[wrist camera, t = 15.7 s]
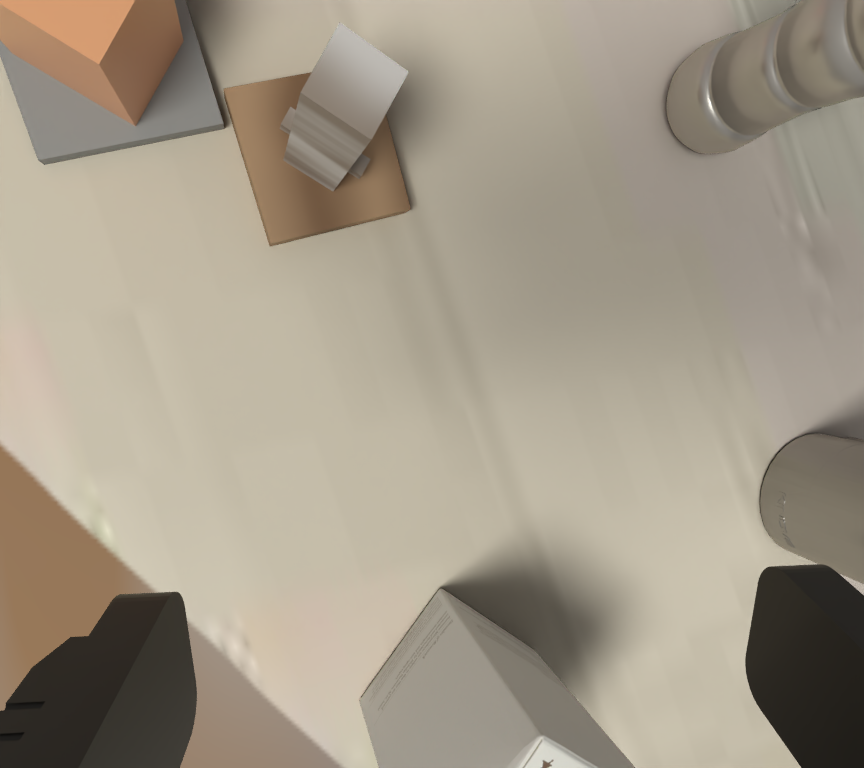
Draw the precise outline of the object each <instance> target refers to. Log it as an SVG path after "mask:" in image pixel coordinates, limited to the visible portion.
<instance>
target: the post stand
mask: <svg viewBox="0 0 864 768" xmlns="http://www.w3.org/2000/svg"><path fill="white" fill-rule="evenodd" d="M408 73H409V71H407V70H406V69H404V68H403V67H402V66H400V65H399V64H397V63H396V62H395V61H393V60H392V59H391V58H389V57H388V56H386V55H385V54H384V53H382V52H381V51H379V50H378V49H377V48H375V47H374V46H372V45H371V44H370V43H368V42H367V41H365V40H364V39H363V38H361V37H360V36H358V35H357V34H356V33H354V32H353V31H352V30H350V29H349V28H347V27H346V26H345V25H343V24H342V23H339V25H338V26H337V28H336V30H335V32H334V33H333V35H332V37H331V39H330V41H329V42H328V44H327V46H326V48H325V50H324V51H323V53H322V55H321V57H320V59H319V60H318V62H317V64H316V66H315V68H314V69H313V71H312V73H306V74H301V75H295V76H290V77H285V78H279V79H274V80H268V81H263V82H258V83H252V84H247V85H241V86H236V87H231V88H225V89H224V98H225V101H226V105H227V108H228V111H229V114H230V118H231V121H232V124H233V127H234V131H235V134H236V137H237V141H238V144H239V147H240V150H241V154H242V157H243V160H244V163H245V167H246V170H247V173H248V177H249V180H250V183H251V186H252V190H253V193H254V196H255V199H256V203H257V206H258V209H259V212H260V216H261V219H262V222H263V226H264V229H265V232H266V235H267V239H268V242H269V245H270V246H274V245H278V244H282V243H286V242H290V241H294V240H298V239H302V238H306V237H310V236H314V235H318V234H322V233H326V232H330V231H334V230H338V229H342V228H346V227H350V226H354V225H358V224H362V223H366V222H371V221H375V220H379V219H383V218H387V217H391V216H395V215H399V214H403V213H405V212H407V211H409V210H410V209H411V208H410V204H409V200H408V197H407V193H406V189H405V185H404V181H403V177H402V174H401V170H400V166H399V162H398V158H397V155H396V151H395V147H394V143H393V139H392V135H391V132H390V128H389V124H388V120H387V116H386V113H387V111H388V109H389V107H390V105H391V103H392V102H393V100H394V98H395V96H396V94H397V93H398V91H399V89H400V87H401V85H402V84H403V82H404V80H405V78H406V76H407V74H408Z"/></svg>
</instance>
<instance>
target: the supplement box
mask: <svg viewBox="0 0 864 768" xmlns="http://www.w3.org/2000/svg"><path fill="white" fill-rule="evenodd" d="M360 706H361V709H362V712H363V716H364V719H365V722H366V726H367V729H368V733H369V736H370V739H371V743H372V746H373V749H374V753H375V756H376V759H377V763H378V766H379V768H635V767H634V766H633V764H632V763H631V762H630V761H629V760H628V759H627V757H626V756H625V755H624V754H623V753H622V752H621V751H620V749H619V748H618V747H617V746H616V745H615V744H614V742H613V741H612V740H611V739H610V738H609V737H608V735H607V734H606V733H605V732H604V731H603V730H602V728H601V727H600V726H599V725H598V724H597V723H596V721H595V720H594V719H593V718H592V717H591V716H590V714H589V713H588V712H587V711H586V710H585V709H584V707H583V706H582V705H581V704H580V703H579V702H578V701H577V699H576V698H575V697H574V696H573V695H572V694H571V692H570V691H569V690H568V689H567V688H566V687H565V685H564V684H563V683H562V682H561V681H560V680H559V678H558V677H557V676H556V675H555V674H554V673H553V671H552V670H551V669H550V668H549V667H548V665H547V664H546V663H545V662H544V661H543V660H542V658H541V657H540V656H539V655H538V654H537V653H536V652H535V650H533V649H532V648H530V647H529V646H528V645H526V644H525V643H523V642H522V641H520V640H519V639H517V638H516V637H514V636H513V635H511V634H510V633H508V632H507V631H505V630H504V629H502V628H501V627H499V626H498V625H496V624H495V623H493V622H492V621H490V620H489V619H487V618H486V617H484V616H483V615H481V614H480V613H478V612H477V611H475V610H474V609H472V608H471V607H469V606H468V605H466V604H465V603H463V602H462V601H460V600H459V599H457V598H456V597H454V596H453V595H451V594H450V593H448V592H447V591H445V590H443V589H439V590H438V592H437V593H436V594H435V596H434V597H433V598H432V600H431V601H430V603H429V604H428V605H427V607H426V608H425V609H424V611H423V612H422V614H421V615H420V616H419V618H418V619H417V621H416V622H415V623H414V625H413V626H412V628H411V629H410V630H409V632H408V633H407V635H406V636H405V637H404V639H403V640H402V642H401V643H400V644H399V646H398V647H397V649H396V650H395V651H394V653H393V654H392V655H391V657H390V658H389V660H388V661H387V662H386V664H385V665H384V666H383V668H382V669H381V671H380V672H379V673H378V675H377V676H376V678H375V679H374V680H373V682H372V683H371V685H370V686H369V687H368V689H367V690H366V692H365V693H364V695H363V696H362V698H361V699H360Z"/></svg>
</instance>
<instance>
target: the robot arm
mask: <svg viewBox="0 0 864 768" xmlns="http://www.w3.org/2000/svg"><path fill="white" fill-rule="evenodd" d="M760 507H761V516H762V520H763V523H764V526H765V528H766V530H767V532H768V534H769V536H770V537H771V538H772V539H773V540H774V541H775V543H776V544H778V545H779V546H781V547H782V548H784V549H786V550H788V551H790V552H792V553H795V554H797V555H799V556H801V557H804V558H806V559H808V560H810V561H813V562H815V563H817V564H818V565H796V566H774V567H768V568H766V569H765V570H763V572H762V573H761V575H760V578H759V581H758V587H757V593H756V598H755V604H754V610H753V616H752V622H751V628H750V634H749V640H748V646H747V652H746V674H747V679H748V683H749V687H750V690H751V692H752V695H753V697H754V699H755V701H756V703H757V705H758V706H759V708H760V709H761V711H762V712H763V714H764V715H765V717H766V718H767V719H768V721H769V722H770V724H771V725H772V726H773V728H774V729H775V731H776V732H777V734H778V735H779V736H780V738H781V739H782V741H783V742H784V743H785V745H786V746H787V748H788V749H789V751H790V752H791V753H792V755H793V756H794V758H795V759H796V760H797V762H798V763H799V765H800V766H801V768H864V595H862V594H861V593H860V592H859V591H858V590H857V589H856V588H854V587H853V586H852V585H851V584H850V583H849V582H848V581H846V580H845V579H844V578H843V577H842V576H841V575H839V574H842V575H844V576H846V577H849V578H851V579H853V580H855V581H858V582H860V583H862V584H864V440H862V439H857V438H852V437H848V438H840V437H835V436H830V435H825V434H818V433H816V434H808V435H805V436H802V437H799V438H797V439H795V440H794V441H792V442H791V443H789V444H788V445H786V446H785V447H784V448H783V449H782V450H781V451H780V452H779V453H778V454H777V456H776V457H775V459H774V460H773V462H772V463H771V464H770V467H769V469H768V471H767V473H766V475H765V478H764V482H763V485H762V489H761V498H760ZM838 573H839V574H838ZM196 701H197V691H196V680H195V673H194V666H193V659H192V653H191V646H190V639H189V632H188V626H187V618H186V612H185V606H184V601H183V598H182V596H181V595H180V593H178V592H164V593H142V594H120V595H118V596H116V597H115V598H114V599H113V600H112V602H111V603H110V605H109V606H108V607H107V609H106V611H105V612H104V614H103V615H102V617H101V618H100V620H99V621H98V623H97V624H96V626H95V627H94V629H93V630H92V632H91V633H90V635H89V636H84V637H70V638H69V639H68V640H67V641H65V642H64V643H63V644H61V645H60V646H59V647H58V648H56V649H55V650H54V651H53V652H51V653H50V654H49V655H47V656H46V657H45V658H44V659H42V660H41V661H40V662H39V663H37V664H36V665H35V666H33V667H32V668H31V670H30V671H29V673H28V674H27V675H26V677H25V678H24V679H23V681H22V682H21V684H20V685H19V686H18V688H17V689H16V690H15V692H14V693H13V694H12V696H11V697H10V699H9V700H8V701H7V702H6V708H5V710H4V711H0V768H180V765H181V762H182V760H183V757H184V754H185V751H186V749H187V746H188V743H189V740H190V737H191V734H192V729H193V725H194V719H195V713H196Z"/></svg>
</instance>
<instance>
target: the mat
mask: <svg viewBox="0 0 864 768" xmlns="http://www.w3.org/2000/svg"><path fill="white" fill-rule="evenodd" d="M175 5H176V9H177V14H178V18H179V23H180V27H181V31H182V36H183V40H184V41H183V43H182V45H181V46H180V48H179V50H178V52H177V54H176V55H175V57H174V59H173V61H172V62H171V64H170V66H169V68H168V70H167V71H166V73H165V75H164V77H163V79H162V80H161V82H160V84H159V86H158V87H157V89H156V91H155V93H154V95H153V96H152V98H151V100H150V102H149V103H148V105H147V107H146V109H145V111H144V112H143V114H142V116H141V118H140V120H139V121H138V123H137V125H136V126H134V125H132V124H130V123H129V122H127V121H125V120H124V119H122V118H120V117H119V116H117V115H115V114H114V113H112V112H110V111H108V110H107V109H105V108H103V107H102V106H100V105H98V104H97V103H95V102H93V101H92V100H90V99H88V98H87V97H85V96H83V95H81V94H80V93H78V92H76V91H75V90H73V89H71V88H70V87H68V86H66V85H65V84H63V83H61V82H59V81H58V80H56V79H54V78H53V77H51V76H49V75H48V74H46V73H44V72H43V71H41V70H39V69H38V68H36V67H34V66H32V65H31V64H29V63H27V62H26V61H24V60H22V59H21V58H19V57H17V56H16V55H14V54H12V53H11V52H10V50H9V49H8V48H7V47H6V46H5V45H4V44H3V43H2V42H1V40H0V57H1V59H2V62H3V65H4V68H5V70H6V73H7V76H8V79H9V81H10V84H11V87H12V90H13V92H14V95H15V98H16V101H17V103H18V106H19V109H20V112H21V114H22V117H23V120H24V123H25V125H26V128H27V131H28V134H29V136H30V139H31V142H32V145H33V147H34V150H35V153H36V156H37V158H38V160H39V161H40V162H41V163H43V164H44V165H45V164H50V163H55V162H60V161H65V160H70V159H75V158H80V157H85V156H90V155H95V154H100V153H105V152H110V151H115V150H120V149H125V148H130V147H135V146H140V145H145V144H150V143H155V142H160V141H165V140H170V139H175V138H180V137H185V136H190V135H195V134H200V133H205V132H210V131H215V130H220V129H224V124H223V121H222V117H221V114H220V111H219V108H218V104H217V101H216V98H215V95H214V91H213V88H212V85H211V82H210V78H209V75H208V72H207V69H206V65H205V62H204V59H203V56H202V52H201V49H200V46H199V43H198V39H197V36H196V33H195V30H194V26H193V23H192V20H191V17H190V13H189V10H188V7H187V4H186V0H175Z"/></svg>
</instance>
